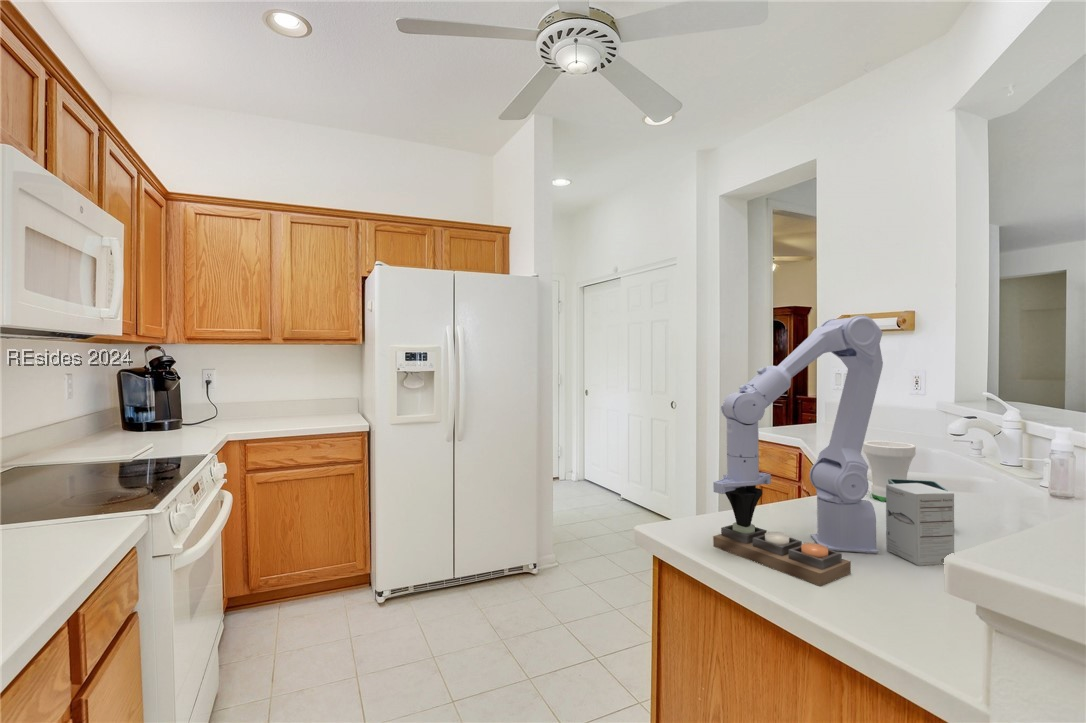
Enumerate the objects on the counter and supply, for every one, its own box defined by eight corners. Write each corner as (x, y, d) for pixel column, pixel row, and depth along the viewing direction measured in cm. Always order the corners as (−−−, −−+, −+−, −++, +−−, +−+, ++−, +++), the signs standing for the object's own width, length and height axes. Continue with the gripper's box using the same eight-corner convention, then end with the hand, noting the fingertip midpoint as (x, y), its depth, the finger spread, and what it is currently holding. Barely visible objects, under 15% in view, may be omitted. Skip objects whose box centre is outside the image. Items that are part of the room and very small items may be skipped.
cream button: (760, 545, 93) (760, 534, 93) (773, 541, 95) (773, 530, 95) (780, 552, 90) (780, 540, 90) (794, 547, 92) (793, 536, 92)
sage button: (728, 534, 99) (728, 524, 99) (741, 530, 101) (741, 520, 101) (746, 540, 96) (745, 530, 96) (759, 536, 98) (759, 526, 98)
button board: (713, 546, 99) (713, 528, 99) (743, 537, 104) (743, 520, 104) (820, 586, 81) (819, 564, 81) (850, 573, 86) (850, 552, 86)
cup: (917, 507, 123) (917, 448, 123) (863, 501, 129) (862, 445, 129) (914, 497, 132) (914, 442, 132) (864, 491, 138) (863, 439, 138)
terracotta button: (796, 557, 87) (796, 546, 87) (810, 553, 89) (810, 541, 89) (819, 565, 84) (819, 553, 84) (833, 560, 86) (833, 548, 86)
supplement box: (884, 550, 96) (883, 483, 96) (921, 549, 96) (920, 482, 96) (916, 566, 88) (915, 493, 88) (956, 564, 89) (955, 491, 89)
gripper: (748, 448, 106) (749, 514, 106) (700, 455, 98) (701, 526, 98) (780, 453, 100) (781, 523, 100) (731, 461, 92) (731, 537, 92)
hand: (743, 525), depth 98 cm, fingers closed, pressing on sage button
